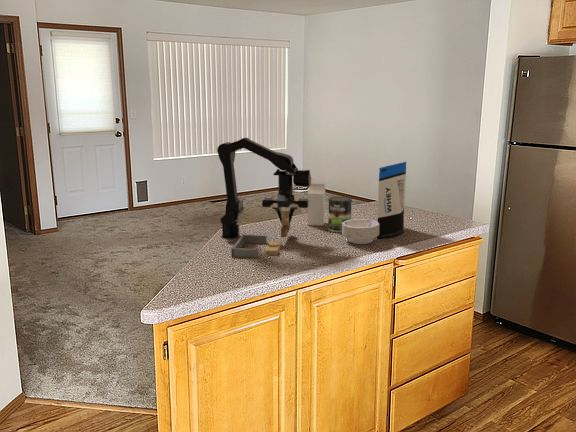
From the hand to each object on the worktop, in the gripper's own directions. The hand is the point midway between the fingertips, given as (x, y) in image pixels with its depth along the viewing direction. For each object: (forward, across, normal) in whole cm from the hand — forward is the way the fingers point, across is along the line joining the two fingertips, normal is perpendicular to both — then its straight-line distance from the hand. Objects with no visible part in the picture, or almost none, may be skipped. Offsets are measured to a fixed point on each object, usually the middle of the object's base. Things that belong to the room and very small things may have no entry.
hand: (285, 223), depth 220 cm
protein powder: (+7, +44, +14) cm, 47 cm away
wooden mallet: (+4, 0, 0) cm, 4 cm away
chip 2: (+7, -3, -20) cm, 21 cm away
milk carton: (+7, +11, +27) cm, 30 cm away
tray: (+7, -12, -16) cm, 21 cm away
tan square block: (+7, -3, -12) cm, 14 cm away
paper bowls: (+7, +31, 0) cm, 32 cm away
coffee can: (+7, +22, +18) cm, 29 cm away
